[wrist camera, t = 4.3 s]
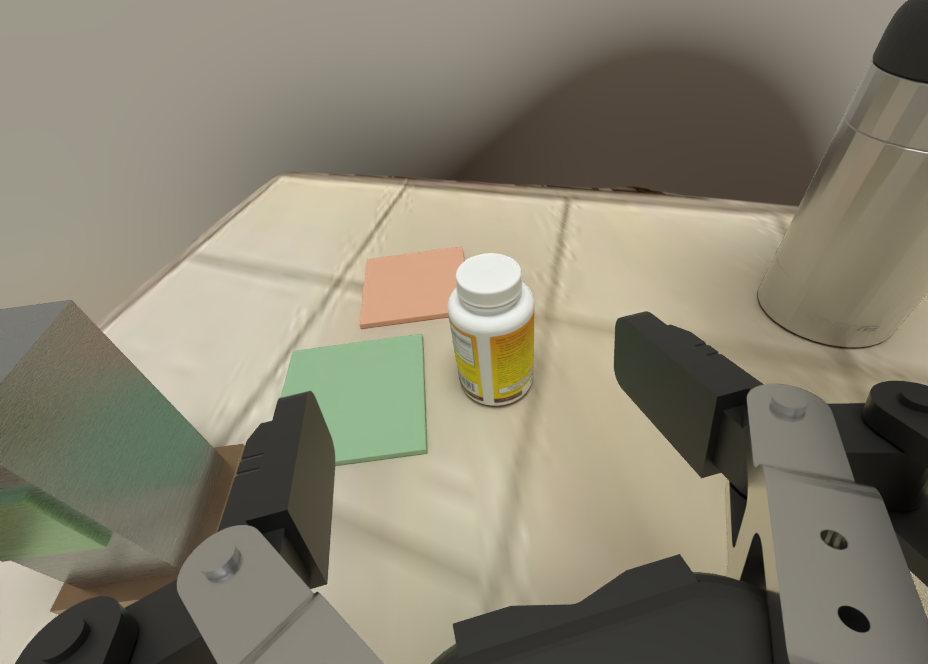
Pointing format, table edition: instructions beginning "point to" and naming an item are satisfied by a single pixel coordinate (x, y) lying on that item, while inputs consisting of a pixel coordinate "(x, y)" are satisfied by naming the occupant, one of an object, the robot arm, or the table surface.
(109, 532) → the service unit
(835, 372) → the table surface
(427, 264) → the terracotta pad
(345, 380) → the green pad
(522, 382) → the supplement bottle
